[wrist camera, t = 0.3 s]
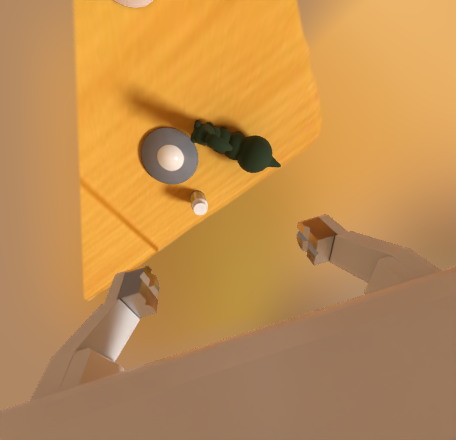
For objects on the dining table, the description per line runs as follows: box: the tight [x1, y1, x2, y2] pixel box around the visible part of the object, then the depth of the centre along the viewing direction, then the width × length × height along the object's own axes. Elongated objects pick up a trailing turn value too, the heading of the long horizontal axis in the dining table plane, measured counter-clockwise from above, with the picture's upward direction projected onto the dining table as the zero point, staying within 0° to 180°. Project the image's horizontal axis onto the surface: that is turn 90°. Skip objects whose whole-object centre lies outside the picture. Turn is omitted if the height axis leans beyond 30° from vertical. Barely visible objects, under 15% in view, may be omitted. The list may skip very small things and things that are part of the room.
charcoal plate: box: [141, 128, 198, 184], centre depth 50 cm, size 15×15×1 cm
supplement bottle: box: [190, 191, 207, 215], centre depth 55 cm, size 5×5×8 cm
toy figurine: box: [190, 120, 281, 173], centre depth 45 cm, size 9×19×25 cm
